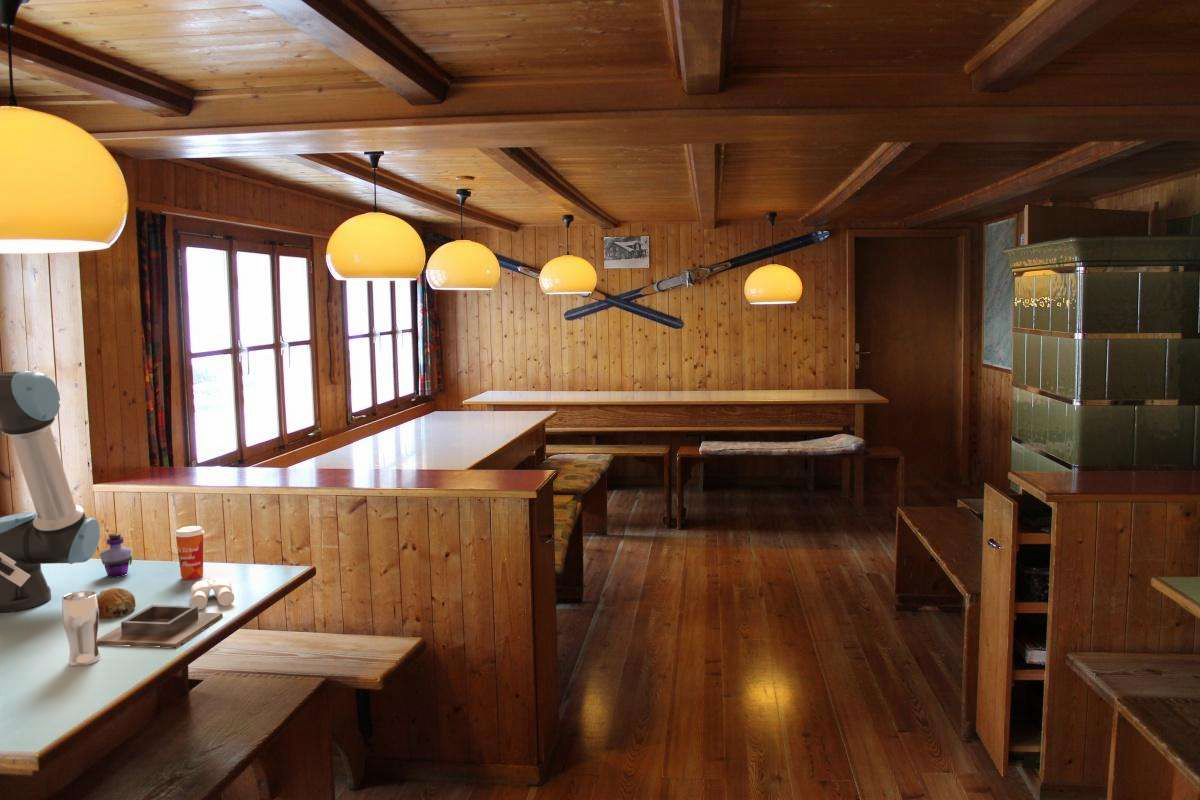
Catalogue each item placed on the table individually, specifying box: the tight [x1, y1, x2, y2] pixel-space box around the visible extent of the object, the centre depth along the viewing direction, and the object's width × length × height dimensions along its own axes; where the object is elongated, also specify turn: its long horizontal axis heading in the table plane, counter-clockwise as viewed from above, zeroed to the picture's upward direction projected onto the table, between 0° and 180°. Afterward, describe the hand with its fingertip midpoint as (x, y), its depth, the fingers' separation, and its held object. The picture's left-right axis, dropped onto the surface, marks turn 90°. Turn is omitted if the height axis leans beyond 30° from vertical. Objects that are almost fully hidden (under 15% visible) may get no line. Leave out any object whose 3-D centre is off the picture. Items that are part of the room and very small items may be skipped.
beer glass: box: [61, 590, 101, 667], centre depth 202 cm, size 7×7×15 cm
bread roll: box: [96, 587, 136, 620], centre depth 234 cm, size 10×10×8 cm
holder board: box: [97, 604, 224, 648], centre depth 221 cm, size 20×20×4 cm
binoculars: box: [189, 576, 235, 611], centre depth 244 cm, size 10×16×5 cm, turn 24°
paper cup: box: [174, 525, 205, 581], centre depth 262 cm, size 8×8×14 cm
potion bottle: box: [99, 532, 133, 578], centre depth 265 cm, size 9×9×12 cm
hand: (18, 574), depth 193 cm, fingers open, 13 cm apart
